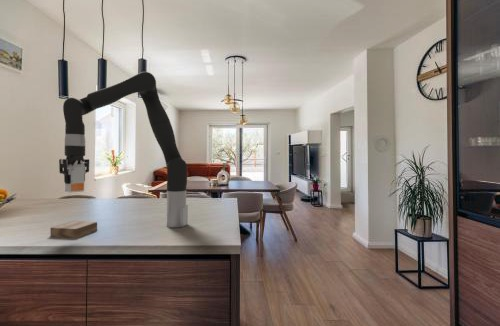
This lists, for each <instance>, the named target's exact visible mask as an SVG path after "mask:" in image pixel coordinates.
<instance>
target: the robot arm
mask: <svg viewBox="0 0 500 326" xmlns="http://www.w3.org/2000/svg"><path fill="white" fill-rule="evenodd" d="M156 80H157V79H156V77H155V76H154V75H153V74H152V73H151V72H148V71H141V72H139V73H137V74H135V75H133V76H131V77H129V78H128V79H126V80H125V79H124V80H123V81H120V82H118V83H116V84H114V85H111V86H108V87H104V88H101V89H99V90H95V91H93V92H90V93H88V94H87V95H86V96H85V97H83V98H80V99H79V98H76V97H68V98H67V99H65V100H64V102H63V106H62V111H63V117H64V123H65V132H64V133H65V135H64V156H65V158H59V161H58V163H59V165H58V169H59V174H62V175H63V176H64V177H63V179H64V180H63V181H64V185H65V184H70V183H71V175H70V174H71V172H72V171H73V170H74V168H75V166H76V165H77V164H84V165H85V172H84V183H85V181H86V174H87V173H89V172H90V159H87V158H84V157H85V156H86V137H85V131H86V129H85V126H86V125H85V123H84V120H83V116H85V115H88V114H90V113H91V112H94V111H95V110H97V109H100V108H103V107H106V106H108V105H111V104H114V103H116V102H118V101H119V100H121V99H124V98H125V97H127V96H129V95H133V94H137V93H139V95H140V97H141V99H142V101H143V104H144V105H145V106H144V107H145V110H146V113H147V114H146V115H147V118H148V122H149V124H150V127H151V130H152V133H153V135H154V137H155V140H156V141H157V144H158V145H159V148H160V149H161V152H162V154H163V158H164V161H165V165H166V179H167V180H166V227H167V228H184V227H185V226H187V225H188V224H189V223H188V220H189V219H188V217H189V216H188V215H189V212H188V211H189V209H188V206H189V205H188V204H187V184H188V165H187V162H186V161H185V160H184V159H183V158H182V156H181V154H180V152H179V149H178V147H177V143H176V137H175V132H174V129H173V125H172V123H171V121H170V117H169V115H168V114H167V111H166V109H165V108H164V106H163V105H162V102H161V99H160V97H159V93H158V89H157V81H156ZM69 164H70V165H72V167H70V168H68V165H69ZM68 170H69V171H68Z"/></svg>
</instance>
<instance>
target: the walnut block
mask: <svg viewBox="0 0 500 326" xmlns="http://www.w3.org/2000/svg"><path fill="white" fill-rule="evenodd" d="M96 231H98V221H78V220H72V221H68V222H65V223H62V224H59V225H55V226H52V227H50V237H54V238H55V237H56V238H58V237H59V238H76V239H77V238H79V237H82V236H85V235H87V234H90V233H93V232H96Z"/></svg>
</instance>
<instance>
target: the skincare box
mask: <svg viewBox="0 0 500 326" xmlns="http://www.w3.org/2000/svg"><path fill="white" fill-rule="evenodd" d="M70 167H72V165H70V164H69V165H68V168H70ZM85 170H86V167H85V165H84V164H77V165H76V166H75V168H74V170H73V171H72V172H71V174H70V175H71V183H70V184H65V183H64V192H66V193H78V192H79V193H80V192H85V182H84V172H85ZM68 171H69V170H68Z"/></svg>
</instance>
